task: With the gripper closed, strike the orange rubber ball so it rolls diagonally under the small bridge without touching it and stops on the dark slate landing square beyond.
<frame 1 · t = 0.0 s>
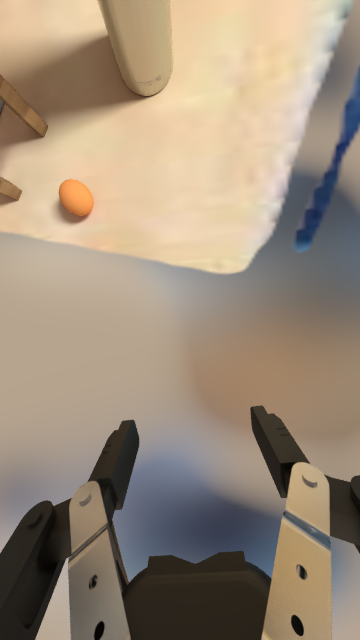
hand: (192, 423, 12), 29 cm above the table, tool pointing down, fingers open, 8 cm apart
bridge: (25, 159, 33), on the table
ball: (76, 198, 32), on the table
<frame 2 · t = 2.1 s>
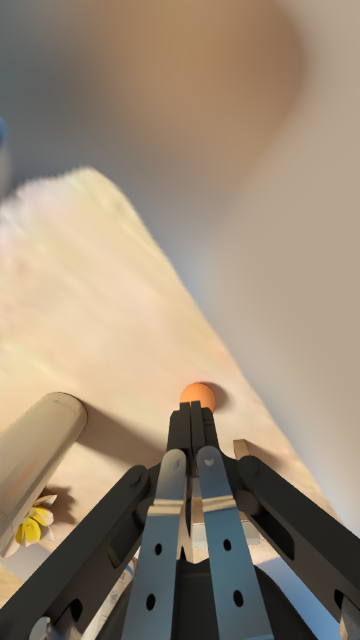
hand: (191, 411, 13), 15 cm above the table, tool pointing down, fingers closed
decorative flower: (38, 498, 38), on the table
bridge: (205, 449, 33), on the table
ball: (197, 402, 27), on the table
stopper strip: (218, 526, 38), on the table
supplement tub: (116, 559, 43), on the table
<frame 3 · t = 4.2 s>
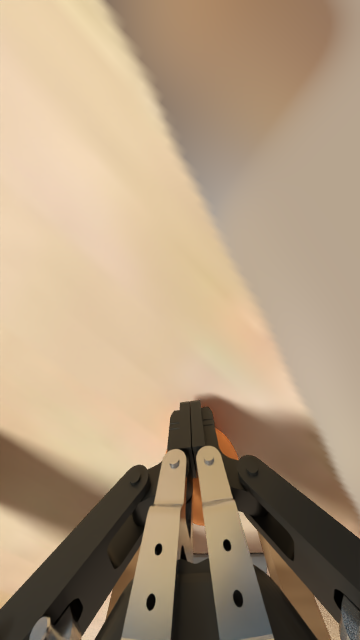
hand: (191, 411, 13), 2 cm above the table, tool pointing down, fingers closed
bridge: (203, 514, 18), on the table
ball: (201, 467, 13), on the table, touching gripper
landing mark: (210, 588, 21), on the table
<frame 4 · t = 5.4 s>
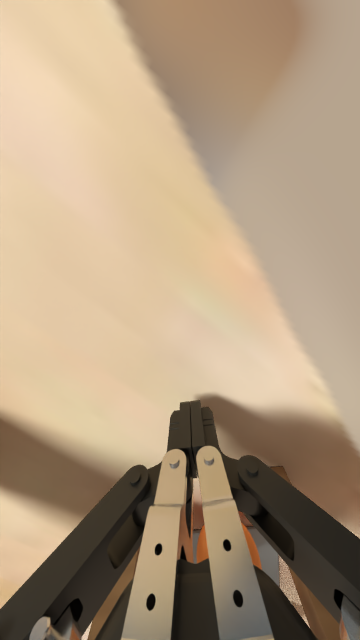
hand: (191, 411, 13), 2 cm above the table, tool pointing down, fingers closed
bridge: (206, 484, 17), on the table
ball: (227, 559, 15), on the table
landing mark: (220, 566, 20), on the table
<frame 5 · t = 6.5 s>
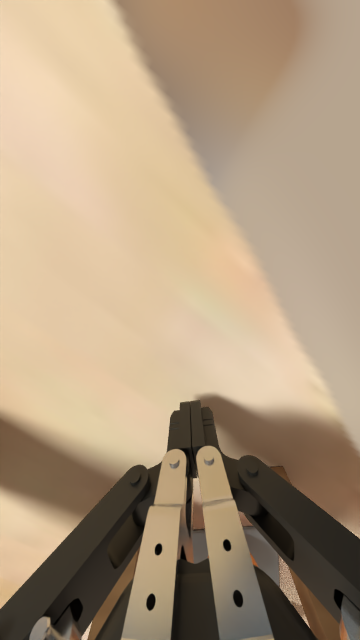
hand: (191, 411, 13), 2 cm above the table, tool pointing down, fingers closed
bridge: (206, 484, 17), on the table
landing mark: (220, 566, 20), on the table
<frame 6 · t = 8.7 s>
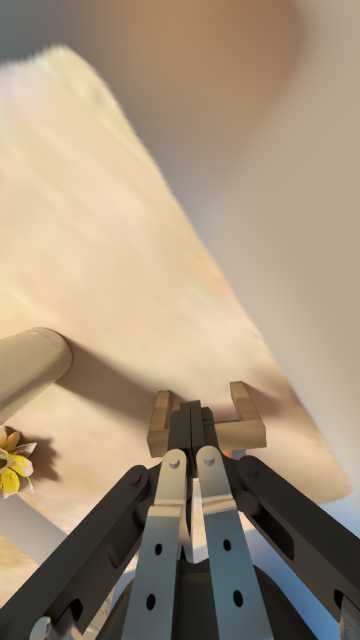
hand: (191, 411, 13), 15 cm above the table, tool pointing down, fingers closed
decorative flower: (19, 450, 36), on the table
bridge: (200, 393, 30), on the table
stopper strip: (215, 484, 36), on the table
supplement tub: (108, 522, 41), on the table
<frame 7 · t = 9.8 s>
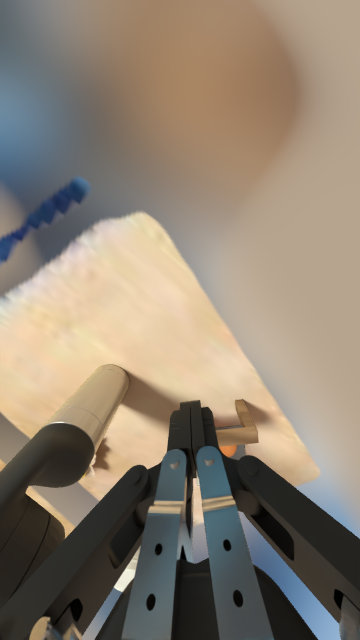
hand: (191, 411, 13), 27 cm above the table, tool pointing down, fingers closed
bridge: (215, 407, 45), on the table
ball: (225, 443, 44), on the table
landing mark: (220, 446, 48), on the table
supplement tub: (143, 501, 55), on the table
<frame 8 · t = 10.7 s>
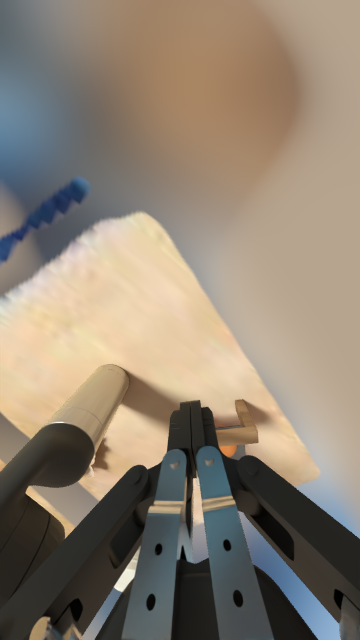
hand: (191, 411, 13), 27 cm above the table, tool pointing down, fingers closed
bridge: (215, 407, 45), on the table
ball: (225, 443, 44), on the table
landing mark: (220, 446, 48), on the table
supplement tub: (143, 501, 55), on the table
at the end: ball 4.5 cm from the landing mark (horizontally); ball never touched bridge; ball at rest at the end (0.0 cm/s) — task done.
